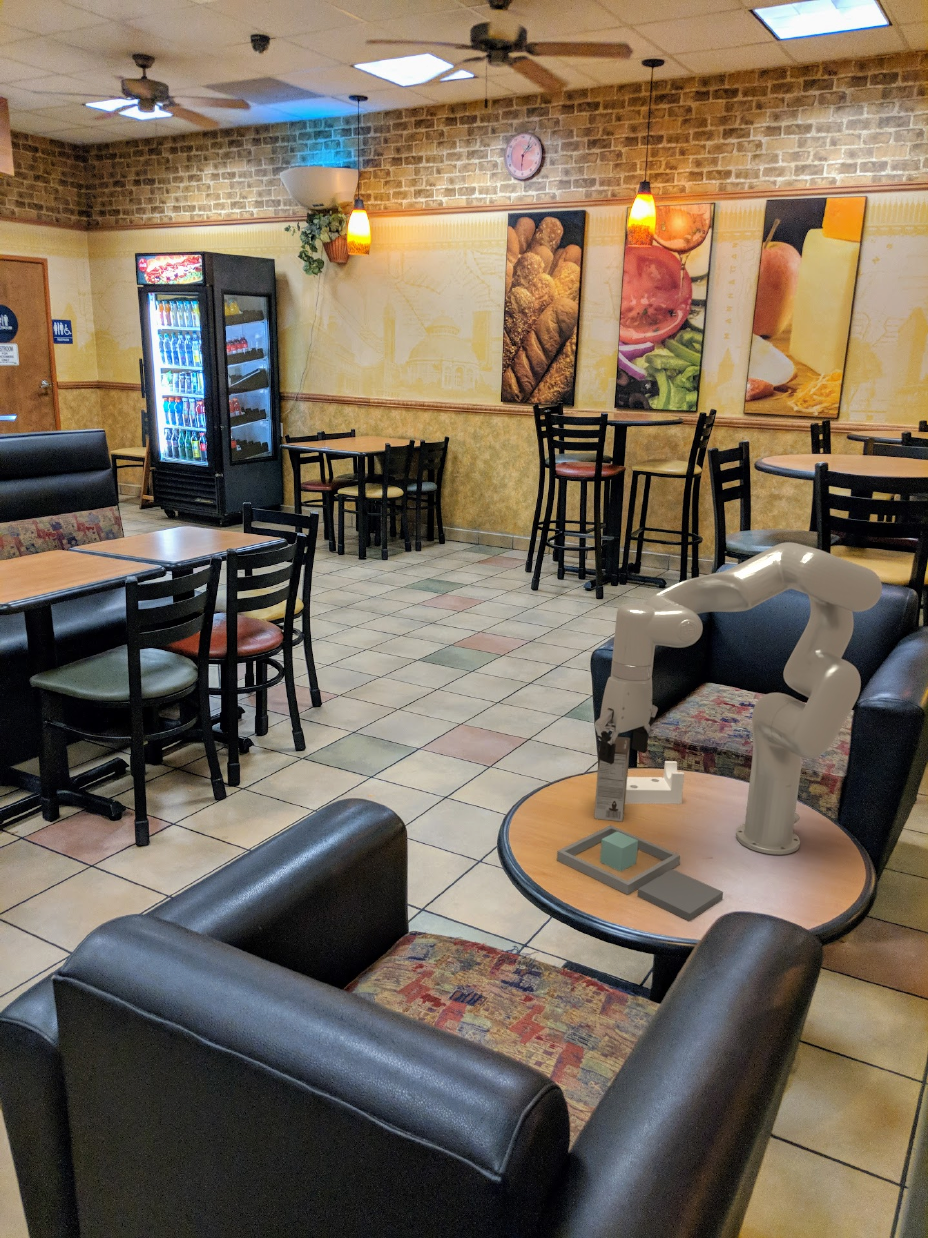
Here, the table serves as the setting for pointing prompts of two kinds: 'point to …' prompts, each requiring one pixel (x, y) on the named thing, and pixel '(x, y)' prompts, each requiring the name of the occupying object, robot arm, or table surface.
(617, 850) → the teal cube
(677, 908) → the slate board
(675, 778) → the bracket
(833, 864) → the table surface
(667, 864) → the low bin
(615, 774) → the coffee box
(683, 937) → the table surface
